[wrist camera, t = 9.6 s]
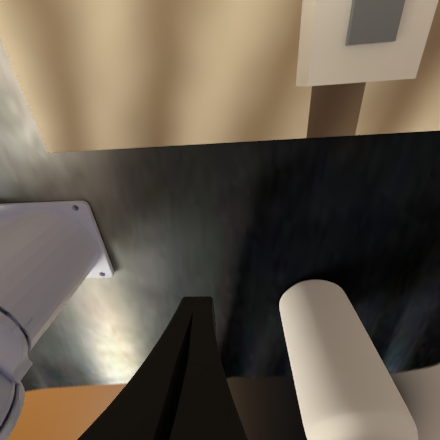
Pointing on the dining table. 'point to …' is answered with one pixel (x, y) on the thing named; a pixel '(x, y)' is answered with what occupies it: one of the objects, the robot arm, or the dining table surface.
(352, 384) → the can
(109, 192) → the dining table surface
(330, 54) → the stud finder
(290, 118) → the board
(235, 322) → the dining table surface
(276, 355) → the dining table surface
